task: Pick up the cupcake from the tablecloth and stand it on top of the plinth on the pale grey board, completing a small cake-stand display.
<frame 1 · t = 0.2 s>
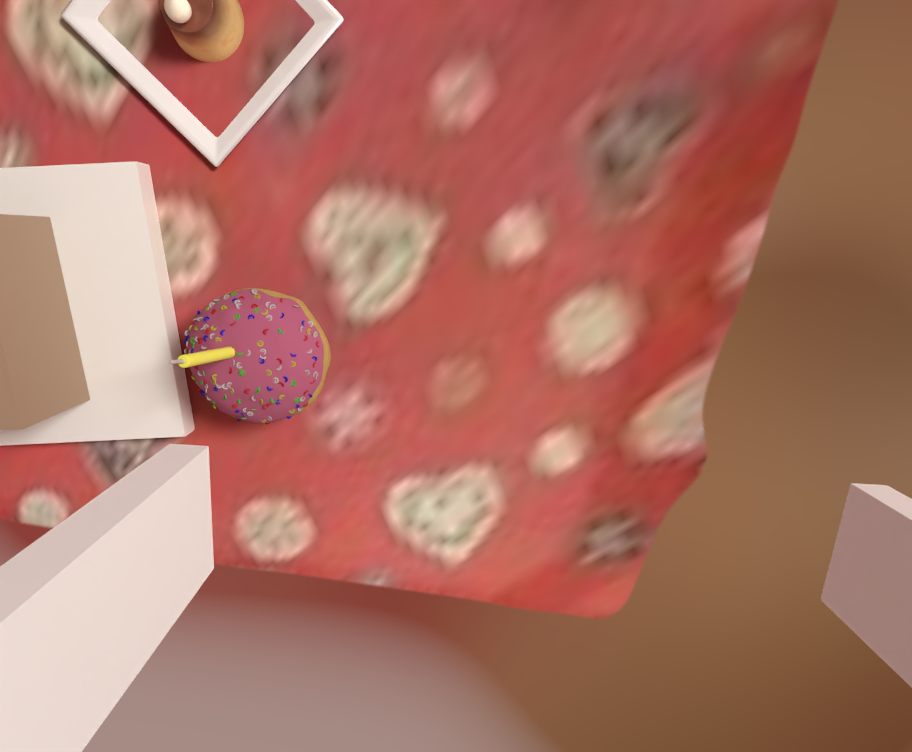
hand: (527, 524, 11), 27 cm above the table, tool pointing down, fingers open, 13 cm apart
cupcake: (282, 342, 38), on the table
white square frame: (211, 25, 34), on the table
plinth: (12, 312, 37), on the table
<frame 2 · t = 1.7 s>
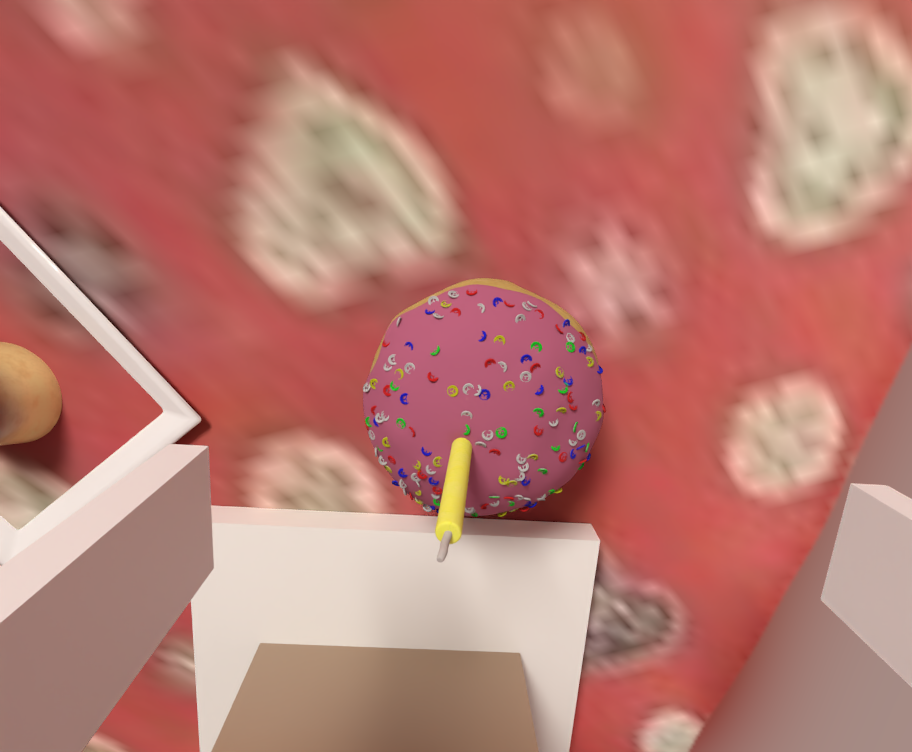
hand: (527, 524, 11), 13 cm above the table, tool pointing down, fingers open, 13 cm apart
cupcake: (474, 370, 24), on the table
white square frame: (20, 389, 24), on the table
plinth: (390, 709, 28), on the table
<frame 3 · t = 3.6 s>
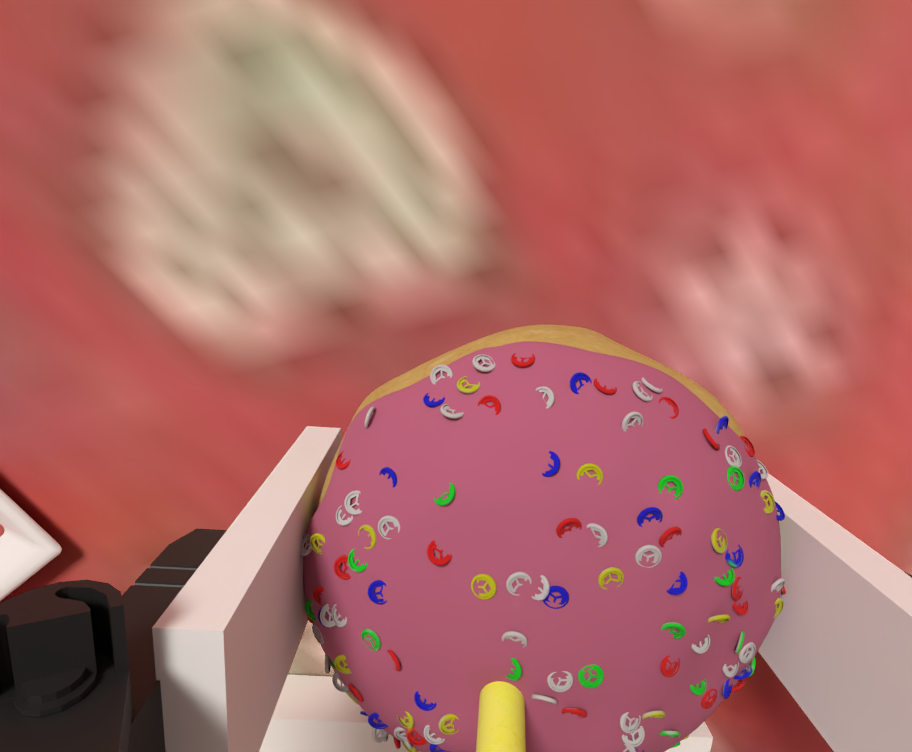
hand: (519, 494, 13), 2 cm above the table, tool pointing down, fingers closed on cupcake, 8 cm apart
cupcake: (508, 459, 15), on the table, touching gripper
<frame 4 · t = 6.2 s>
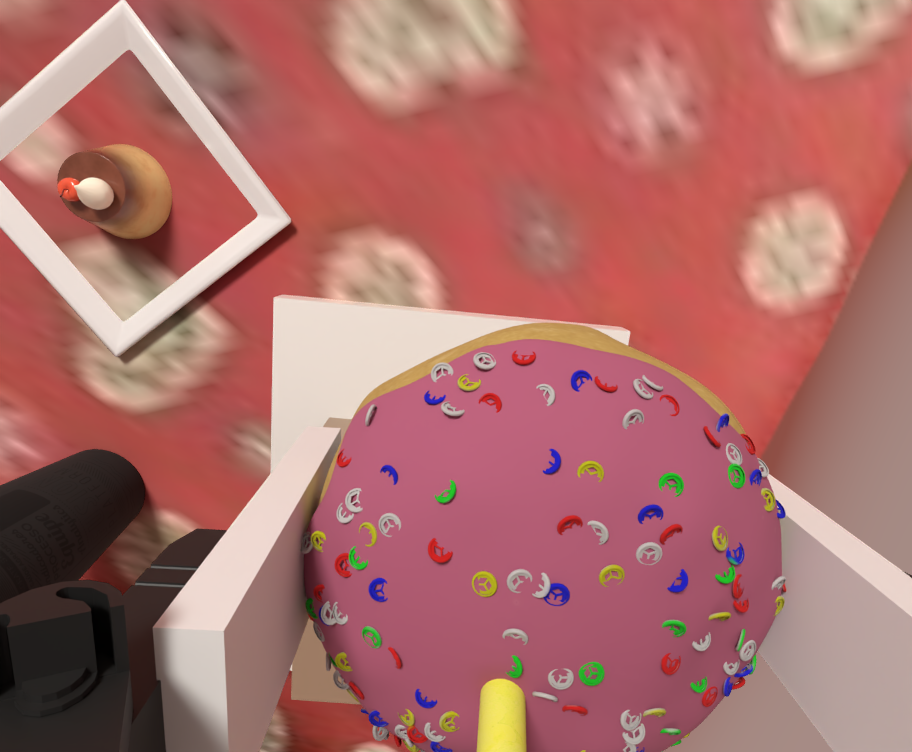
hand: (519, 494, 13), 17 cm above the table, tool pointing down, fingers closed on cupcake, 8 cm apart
cupcake: (509, 458, 15), point 15 cm above the table, touching gripper
white square frame: (134, 193, 28), on the table
plinth: (435, 500, 31), on the table
drinking cup: (104, 487, 31), on the table
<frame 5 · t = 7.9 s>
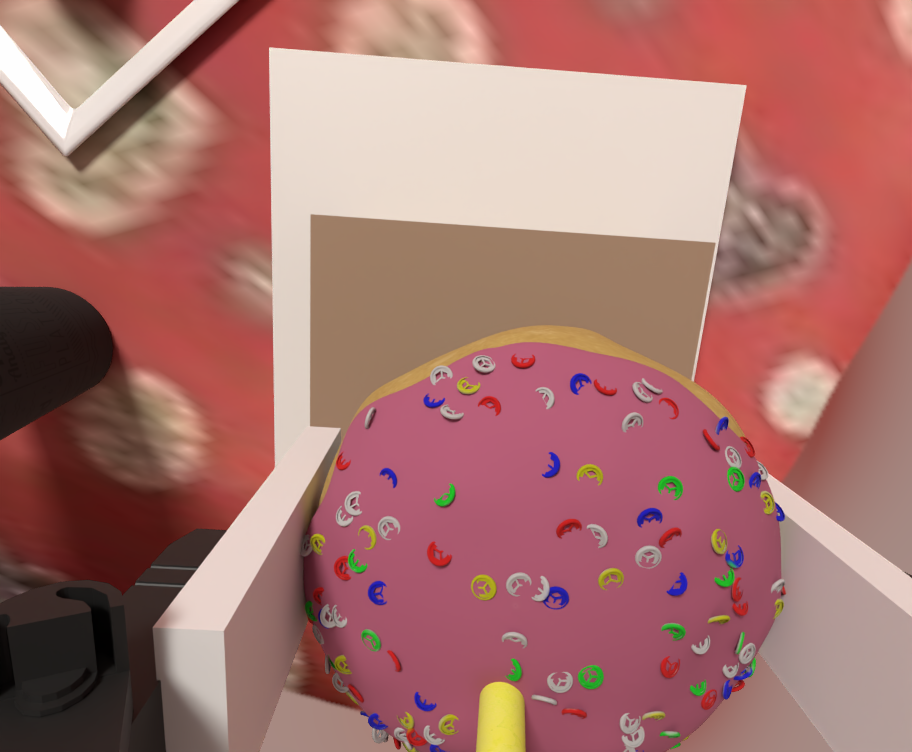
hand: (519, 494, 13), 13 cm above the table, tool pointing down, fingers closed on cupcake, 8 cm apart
cupcake: (509, 460, 15), point 11 cm above the table, touching gripper
plinth: (484, 346, 24), on the table
drinking cup: (60, 341, 24), on the table
when the fingers open (11 cm above the table, at t = 9.2 s): cupcake drops 1 cm, resting on plinth.
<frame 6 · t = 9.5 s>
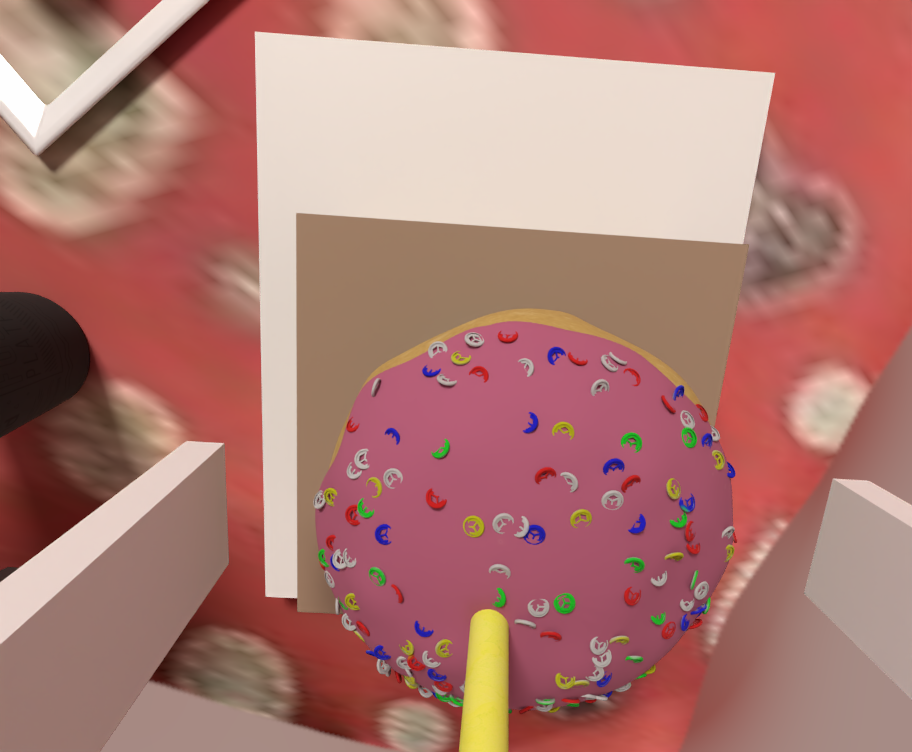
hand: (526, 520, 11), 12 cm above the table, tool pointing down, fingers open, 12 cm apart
cupcake: (499, 437, 16), point 7 cm above the table, touching plinth
plinth: (489, 356, 23), on the table
drinking cup: (33, 349, 23), on the table
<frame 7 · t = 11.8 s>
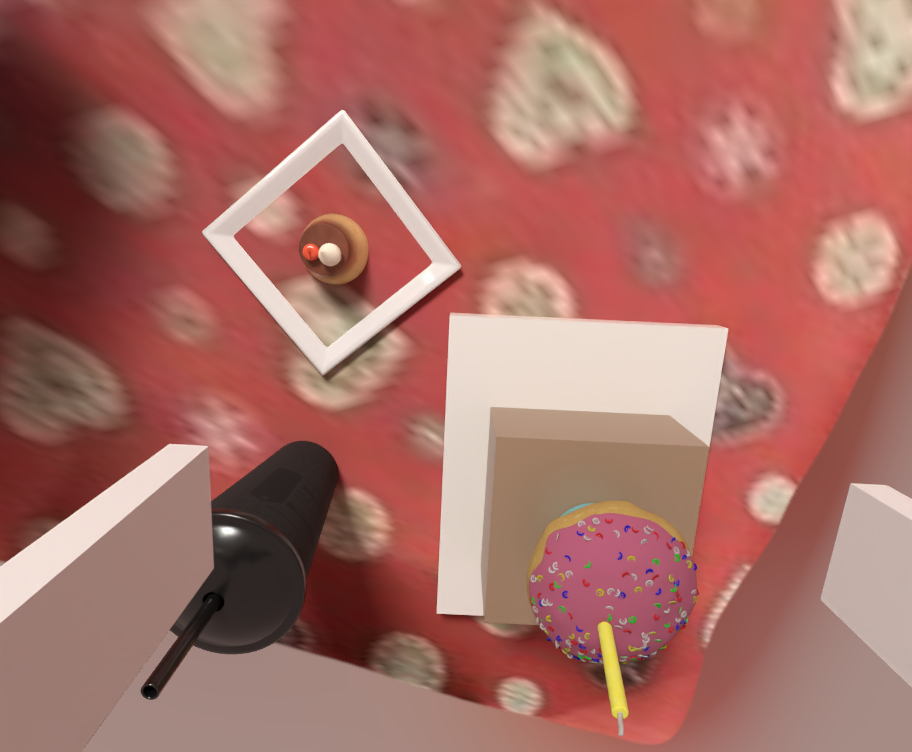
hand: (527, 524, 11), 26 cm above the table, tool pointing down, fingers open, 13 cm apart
cupcake: (588, 535, 32), point 7 cm above the table, touching plinth
white square frame: (336, 249, 36), on the table
plinth: (568, 471, 39), on the table
drinking cup: (305, 471, 39), on the table
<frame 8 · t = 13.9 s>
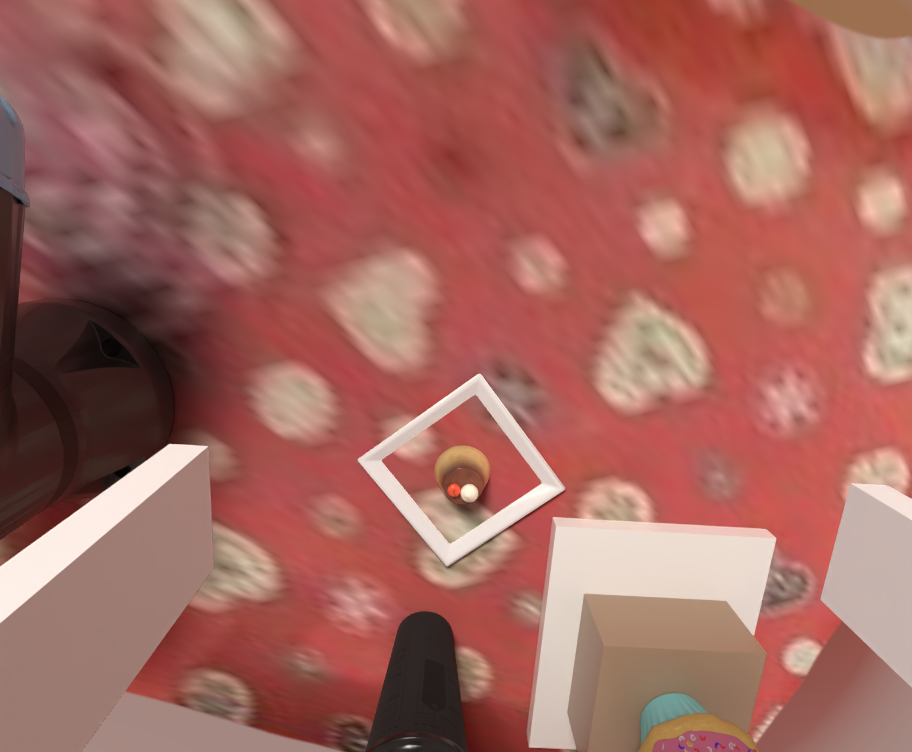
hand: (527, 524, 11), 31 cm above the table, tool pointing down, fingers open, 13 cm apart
cupcake: (669, 714, 41), point 7 cm above the table, touching plinth
white square frame: (462, 468, 45), on the table
plinth: (640, 635, 48), on the table
drinking cup: (424, 633, 48), on the table
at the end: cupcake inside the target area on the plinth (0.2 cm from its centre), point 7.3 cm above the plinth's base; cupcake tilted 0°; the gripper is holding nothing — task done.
